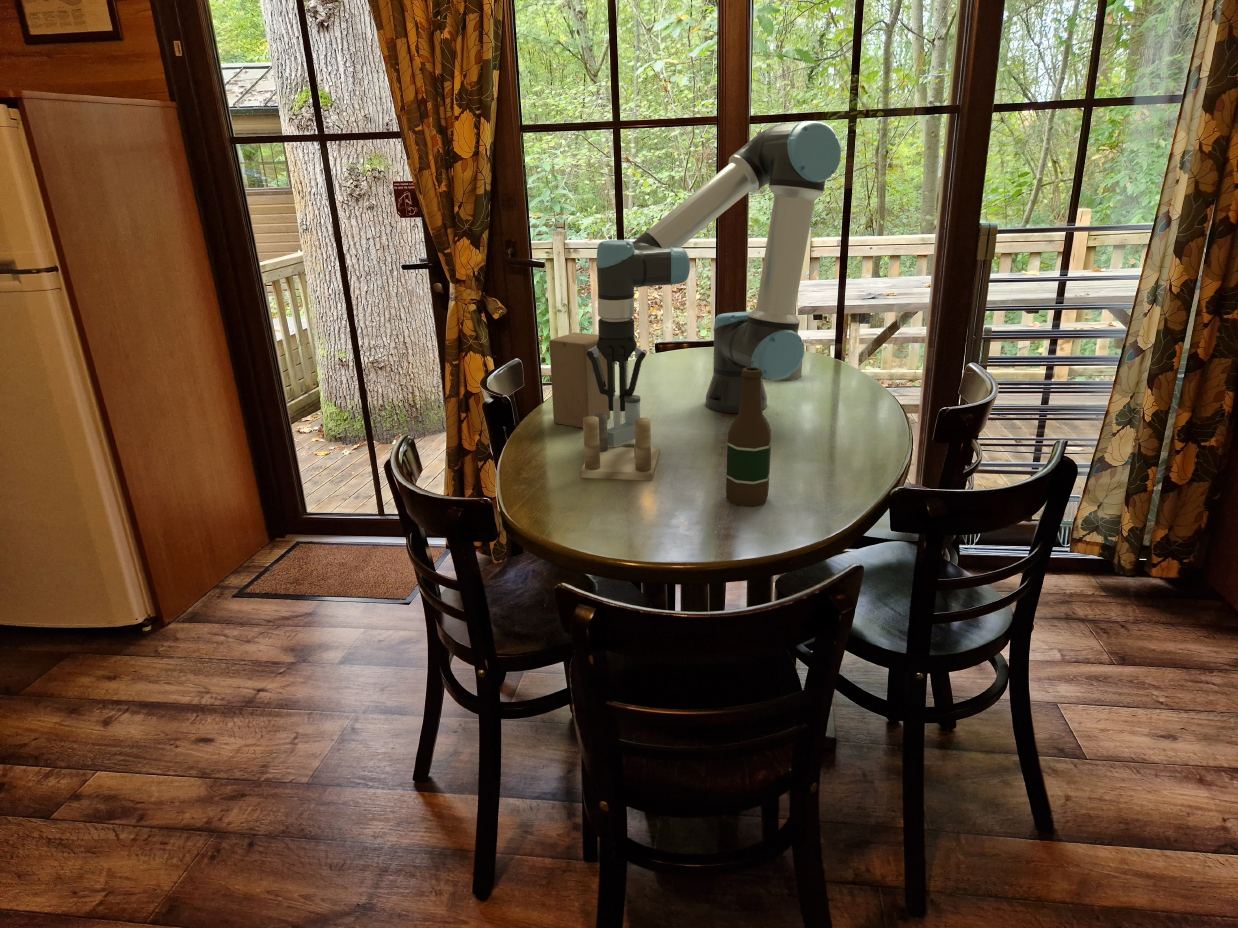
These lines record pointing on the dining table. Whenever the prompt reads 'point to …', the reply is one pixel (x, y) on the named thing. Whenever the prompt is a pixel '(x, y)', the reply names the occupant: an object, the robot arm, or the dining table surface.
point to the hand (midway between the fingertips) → (617, 424)
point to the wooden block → (576, 379)
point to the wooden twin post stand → (618, 452)
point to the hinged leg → (626, 429)
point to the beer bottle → (749, 446)
